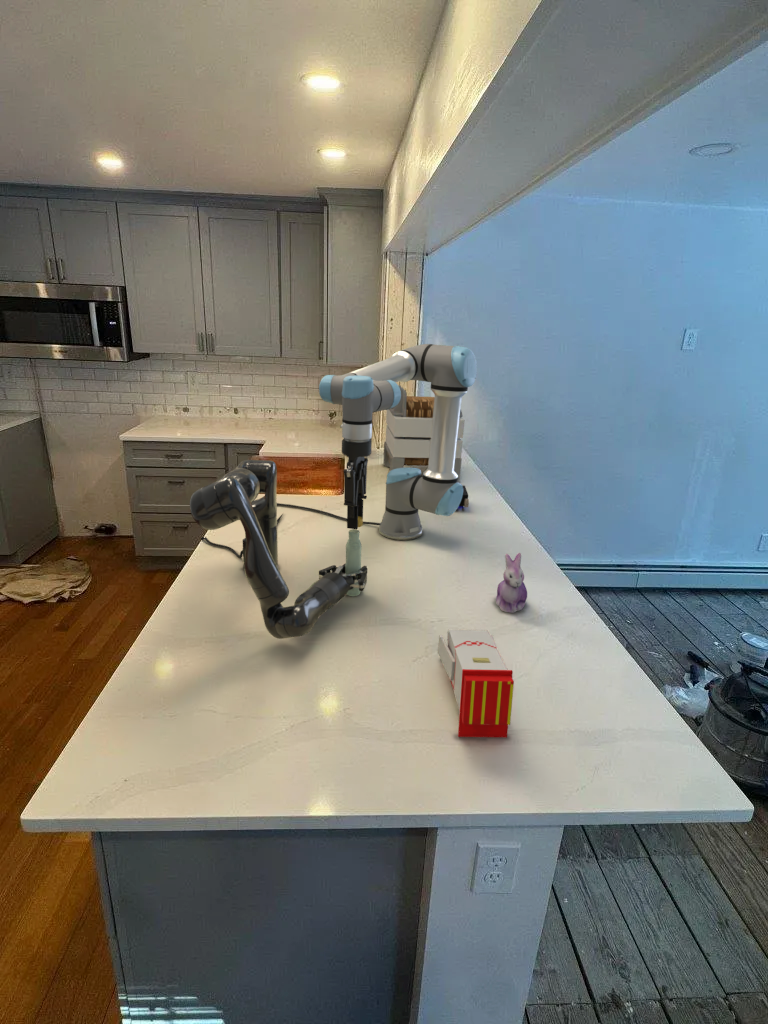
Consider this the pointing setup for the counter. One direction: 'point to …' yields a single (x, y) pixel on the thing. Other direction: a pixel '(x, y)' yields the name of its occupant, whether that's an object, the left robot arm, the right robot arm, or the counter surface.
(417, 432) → the transformer
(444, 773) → the counter surface
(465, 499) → the figurine character
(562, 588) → the counter surface
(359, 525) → the cap
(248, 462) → the left robot arm
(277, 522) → the feather
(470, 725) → the toy
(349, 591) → the bottle
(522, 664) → the counter surface
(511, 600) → the figurine
